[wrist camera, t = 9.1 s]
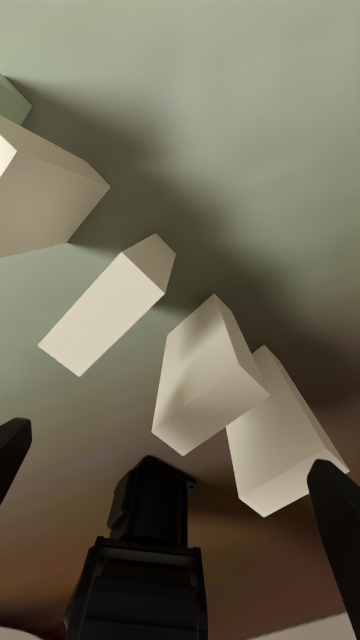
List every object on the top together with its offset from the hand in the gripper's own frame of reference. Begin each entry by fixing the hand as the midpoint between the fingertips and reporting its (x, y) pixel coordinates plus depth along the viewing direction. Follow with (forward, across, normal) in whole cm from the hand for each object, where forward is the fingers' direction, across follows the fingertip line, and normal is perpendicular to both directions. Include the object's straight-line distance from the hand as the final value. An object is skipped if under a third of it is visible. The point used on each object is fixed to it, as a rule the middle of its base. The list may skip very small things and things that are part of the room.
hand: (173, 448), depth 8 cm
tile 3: (+13, +3, -3) cm, 13 cm away
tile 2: (+13, -2, +1) cm, 13 cm away
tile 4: (+13, +8, -6) cm, 16 cm away
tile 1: (+13, -6, +4) cm, 15 cm away
